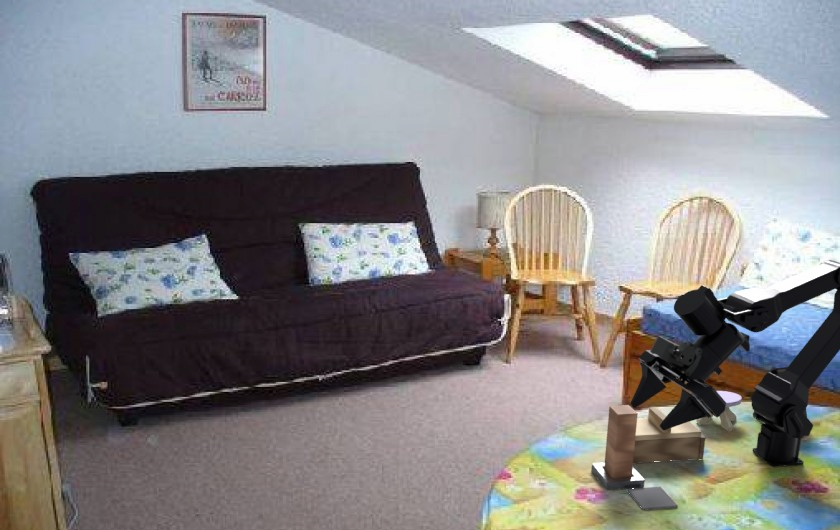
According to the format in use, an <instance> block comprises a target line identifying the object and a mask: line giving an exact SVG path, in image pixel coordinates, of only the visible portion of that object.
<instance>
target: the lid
mask: <svg viewBox="0 0 840 530" xmlns="http://www.w3.org/2000/svg"><path fill="white" fill-rule="evenodd" d="M666 416H667V415H666V414H665V413H664V412H662V411H661V410H660V409H659V408H658V407H656V406H655V407H649V408H648V417H637V426H636V436H635V441H639V440H655V439H672V438H688V437H701V434H702V431H701V430H700V429H699V428H698V427H697V426H695V425H694V423H692V421H689V422H686V423H683V424H681V425H678V426H675V427H672V428H669V429H667V430H662V429H661V428H660V424H661V423H662V421H663V420H664V419H665V417H666Z"/></svg>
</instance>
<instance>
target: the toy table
mask: <svg viewBox="0 0 840 530" xmlns="http://www.w3.org/2000/svg"><path fill="white" fill-rule="evenodd" d="M716 391H717V393H718V394H719V395H720V396H721V397H722V398H723V400H724V401H725V402H726V407H725V411H724V412H723V413H722V414H721V415H720V416H719V417H718V418H719V419H720V427H721V429H724V430H725V431H726V432H732V431H733V429H734V426H733V424H732V422H735V421H737V415H736V414H735V413H734V412H733V411H732V410H731V409H730V408H732V407H736V406H739V405H740V404H741V403H742V400H743V398H742V396H741V394H738V393H736V392H732V391H725V390H716ZM709 414H710V415H711V417H710V418H708V417H704V418H700V419H696V420H695V421H696V422H697V423H698V424H706V425H709V424H710V422H711V420H712V417H714V415H712V414H711V413H709ZM697 423H696V424H697ZM698 424H697V425H698Z"/></svg>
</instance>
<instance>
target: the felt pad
mask: <svg viewBox="0 0 840 530" xmlns="http://www.w3.org/2000/svg"><path fill="white" fill-rule="evenodd" d="M627 491H628V492H627ZM626 492H627V493H628V494H629V493H630V494H629V495H630V497H631V498H632V497H633V498H634V499H635V500H634V499H633V498H632V499H633V500H634V502H635V503H636V504H637V503H638V504H639V505H638V504H637V505H638V506H639V507H640V506H641V507H642V508H641V507H640V508H641V510H642V509H643V510H642V511H648V510H647V509H651V510H660V509H659V508H664V509H675V508H678V507H679V506H678V504H677V503H676V502H675V501H674V499H672V497H671V496H670V495H669V494H668V493H667V492H666V491H665V489H663V488H662V486H649V487H648V486H647V487H644V488H634V489H626ZM644 509H646V510H644Z"/></svg>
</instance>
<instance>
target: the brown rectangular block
mask: <svg viewBox="0 0 840 530" xmlns="http://www.w3.org/2000/svg"><path fill="white" fill-rule="evenodd" d="M608 406H609V408H608V418H607V419H608V420H607V429H606V431H607V433H606V445H605V452H604V453H605V456H604V463H605V464H604V470H605V471H606V473H607V474H608V475H609V476H610V478H624V477H632V468H633V467H634V464H633V457H634V447H635V436H636V426H637V418H638V415H639V414H638V412H637V411H636V410H635V408H633V407H632V406H631V405H629V404H623V405H622V404H621V405H619V404H618V405H608Z"/></svg>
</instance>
